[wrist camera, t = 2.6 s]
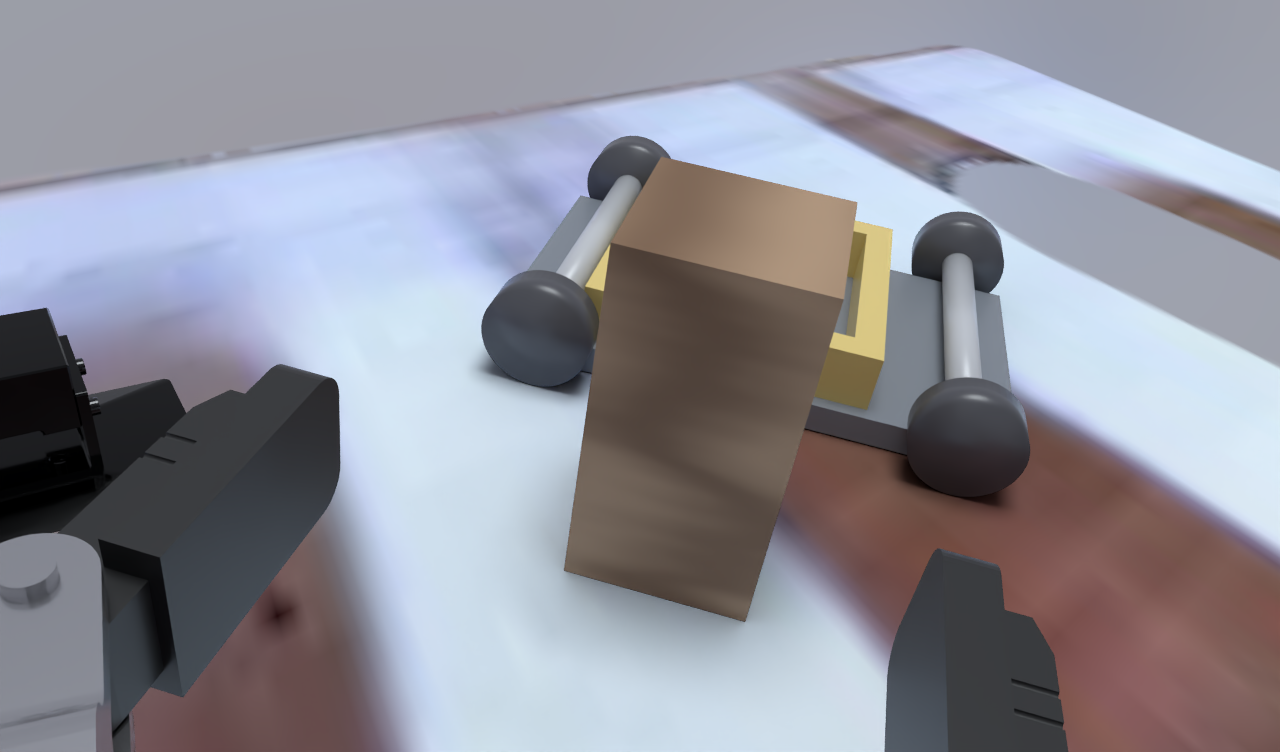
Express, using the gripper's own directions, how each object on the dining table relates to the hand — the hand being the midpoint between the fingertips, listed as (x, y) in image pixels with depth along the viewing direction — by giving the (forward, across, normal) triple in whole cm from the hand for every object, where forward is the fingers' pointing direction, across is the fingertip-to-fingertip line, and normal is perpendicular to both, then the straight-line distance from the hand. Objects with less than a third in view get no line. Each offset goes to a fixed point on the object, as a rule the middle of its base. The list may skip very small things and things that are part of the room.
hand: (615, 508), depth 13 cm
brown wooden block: (+12, 0, +11) cm, 16 cm away
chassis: (+24, -1, +11) cm, 26 cm away
